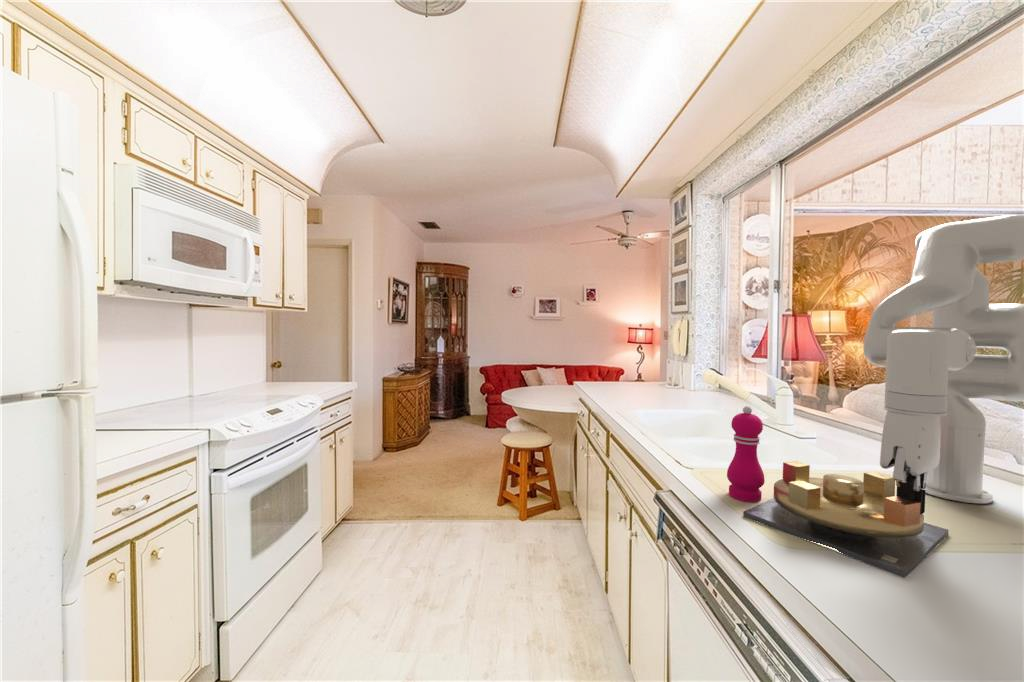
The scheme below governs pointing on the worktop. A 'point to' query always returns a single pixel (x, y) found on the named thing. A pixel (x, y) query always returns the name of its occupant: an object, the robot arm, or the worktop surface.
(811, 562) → the worktop surface
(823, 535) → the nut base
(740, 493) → the pepper mill
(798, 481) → the brass lugged disc
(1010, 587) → the worktop surface
